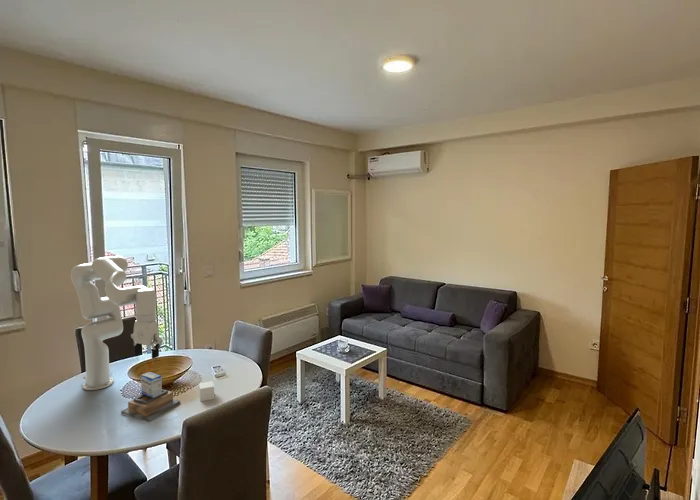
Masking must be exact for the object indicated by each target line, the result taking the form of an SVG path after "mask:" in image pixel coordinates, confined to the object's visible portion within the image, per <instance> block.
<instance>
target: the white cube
mask: <svg viewBox="0 0 700 500" xmlns="http://www.w3.org/2000/svg"><path fill="white" fill-rule="evenodd" d="M198 388H199V389H198V391H199V392H198V393H199V395H198V396H199V400H200V402H203V401H209V400H214V399H215V385H214V381H212V380H211V381H206V382H199V385H198Z"/></svg>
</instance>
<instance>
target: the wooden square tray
mask: <svg viewBox="0 0 700 500" xmlns="http://www.w3.org/2000/svg"><path fill="white" fill-rule="evenodd" d="M173 393H174V391H169V390H167V389H163V388H162V394H161V395H159V396H157V397H154V398H151V397H149V396H146V395H143V394H141V395H139V396H136V397H135V398H133V399H132V400H130V401H128V402H127V403H128V407H126V408H125V409H123V410H121V411H120V413H121V415H125V416H129V417H132V418H136V419H140V420H141V421H142V420H143V421H147V422H152V421H153V420H155V419H157V418H158V417H160V416H162V415H163V414H165V413H166V412H168V411H170V410H172V409H173V408H175V407H176V406H177V405H178V406H179V404H181V401H180V400H178V399H176V398H175V399H174V394H173Z"/></svg>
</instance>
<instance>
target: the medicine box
mask: <svg viewBox="0 0 700 500" xmlns="http://www.w3.org/2000/svg"><path fill="white" fill-rule="evenodd" d="M140 380H141V382H140V384H141V385H140V386H141V388H140V390H141V391H140V393H141V395H142V394H143V395H146V396H149V397H151V398H154V397H157V396H159V395H161V394H162V389H163V388H162V386H163V385H162V383H163V382H162V380H163V379H162V375H160V374H157V373H154V372H151V371H148V372H146V373H143V374H141V375H140Z"/></svg>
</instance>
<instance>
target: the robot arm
mask: <svg viewBox="0 0 700 500" xmlns="http://www.w3.org/2000/svg"><path fill="white" fill-rule="evenodd" d="M128 267H129V264H128V261H127V259H126V258H125V257H123V256H121V255H112V256H103V257H102V256H101V257H97V258H95V259H94V260H93V261H92V262H87V263H81V264H77V265H75V266H73V267H72V268H71V271H70V281H71V283H72V286H73V287H74V289H75V292H76V294H77V298H78V304H79V308H80V309H79V310H80V312H81V316H82V318H83V319H85V320H94V319H99V320H96V321H91V322H88V323H86V324H85V325H83V326H82V328H81V330H80V331H81V332H80V333H81V338H82V341H83V347H84V358H85V359H84V360H85V361H84V362H85V375H83V377H82V380H85V382H84V383H83V384H82V389H83V390H86V391H97V390H102V389H104V388H107V387H110V386H111V385H113V383H114V381H115V379H114V378H113V377H111V376H110V374H111V373H110V354H109V353H110V351H109V347H108V345H107V344H106V343H104V342H103V341H105V340H107V339H111V338H115V337H118V336H120V335H121V334H122V333H123V331H124V323H123V319H122V313H121V307H124V306H125V307H126V306H129V305H133V304H135V319H136V320H135V321H134V324H133V333H131V334H130V337H131V340H132V342H133V346H134V355H135V356H137V355H139V354H142V353H143V346H150V347H151V348H152V349H151V359H156V358H159V356H160V350H159V349H160V348H161V346H162V345H163V341H164V340H163V338H162V337H160V336H159V327H158V322H157V309H156V308H157V305H156V304H157V297H156V296H157V295H156V293H157V292H156V290H155V289H154V288H148V287H147V286H145V285H140V284H139V285H136V286H135V285H134V286H128V287H127V286H126V287H122V288H119V287H120V286H122V284H124V283H125V281H126V279H127V274H126V271H127V270H128ZM100 280H102V281H103V282H104V283H105V284H104V293H105V295H106V296H104V297H101V296H100V290H99V288H98V287H97V286H96V284H94V283H93V281H100ZM104 317H106V318H105V319H101V318H104Z"/></svg>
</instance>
